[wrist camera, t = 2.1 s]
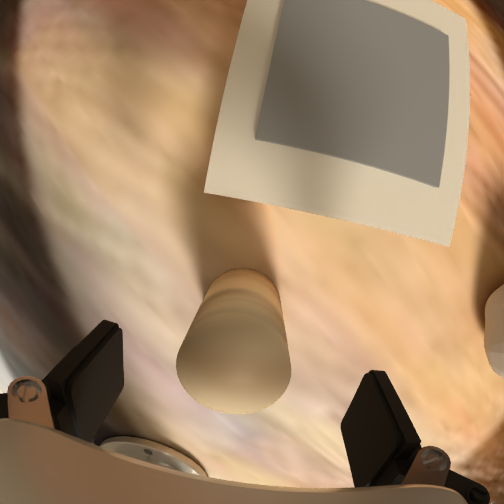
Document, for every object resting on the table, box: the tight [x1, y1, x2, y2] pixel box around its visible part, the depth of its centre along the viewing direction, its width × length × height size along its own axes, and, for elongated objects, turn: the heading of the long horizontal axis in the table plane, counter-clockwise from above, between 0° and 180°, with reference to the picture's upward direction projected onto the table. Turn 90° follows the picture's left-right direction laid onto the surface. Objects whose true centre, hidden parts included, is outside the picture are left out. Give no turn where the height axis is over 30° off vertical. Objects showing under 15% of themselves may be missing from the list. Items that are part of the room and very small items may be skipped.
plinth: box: [204, 0, 470, 247], centre depth 15 cm, size 16×14×4 cm
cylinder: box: [176, 269, 291, 414], centre depth 16 cm, size 5×5×8 cm
